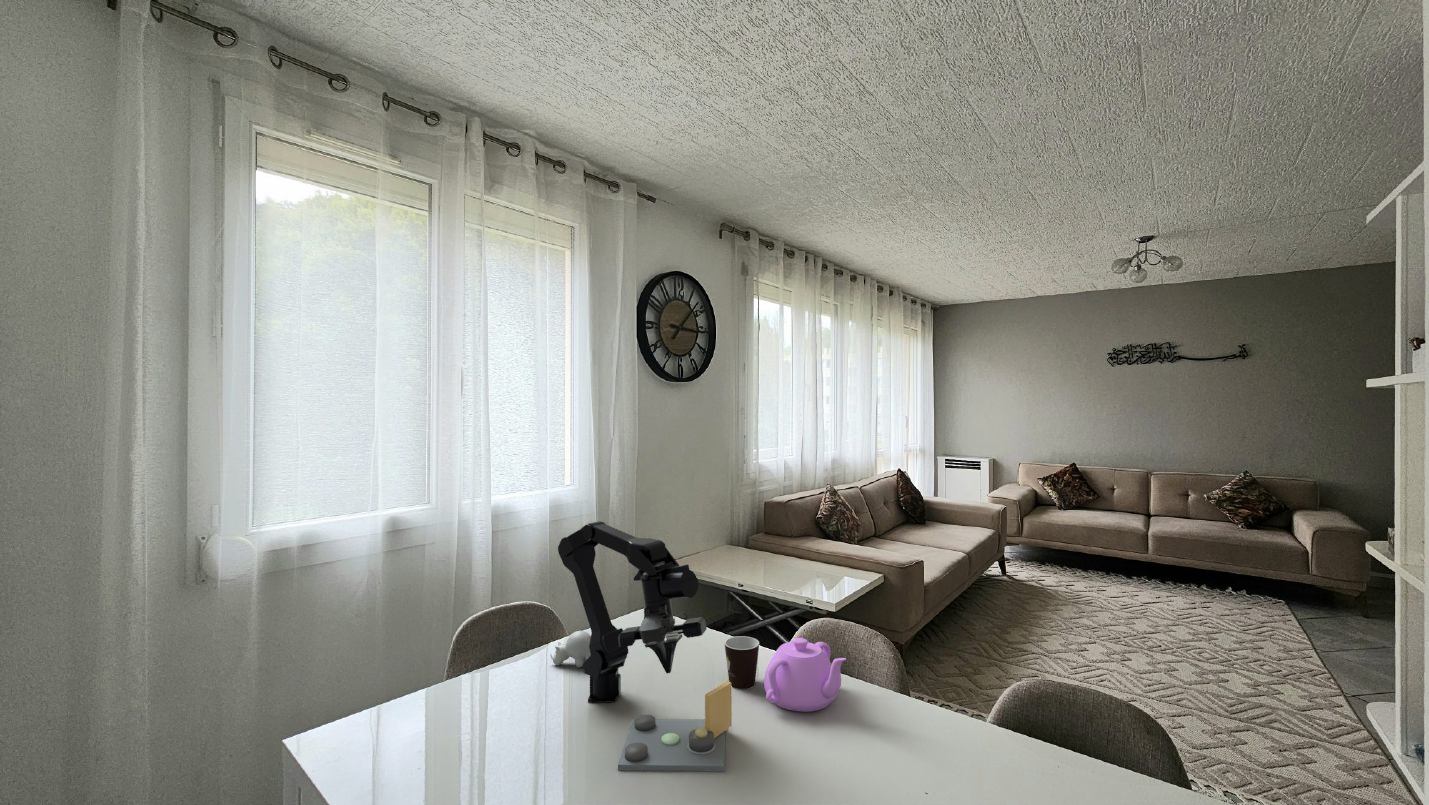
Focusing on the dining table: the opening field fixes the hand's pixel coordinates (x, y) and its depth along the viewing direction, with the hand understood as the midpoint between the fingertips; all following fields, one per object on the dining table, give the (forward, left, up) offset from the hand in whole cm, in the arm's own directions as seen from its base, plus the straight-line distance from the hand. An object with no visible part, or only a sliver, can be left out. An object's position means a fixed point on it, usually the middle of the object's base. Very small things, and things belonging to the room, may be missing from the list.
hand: (668, 672), depth 130 cm
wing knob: (+10, -8, -9) cm, 16 cm away
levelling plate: (+2, -9, -11) cm, 14 cm away
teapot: (+31, +10, -11) cm, 35 cm away
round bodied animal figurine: (-29, +30, -11) cm, 43 cm away
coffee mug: (+16, +21, -11) cm, 29 cm away
